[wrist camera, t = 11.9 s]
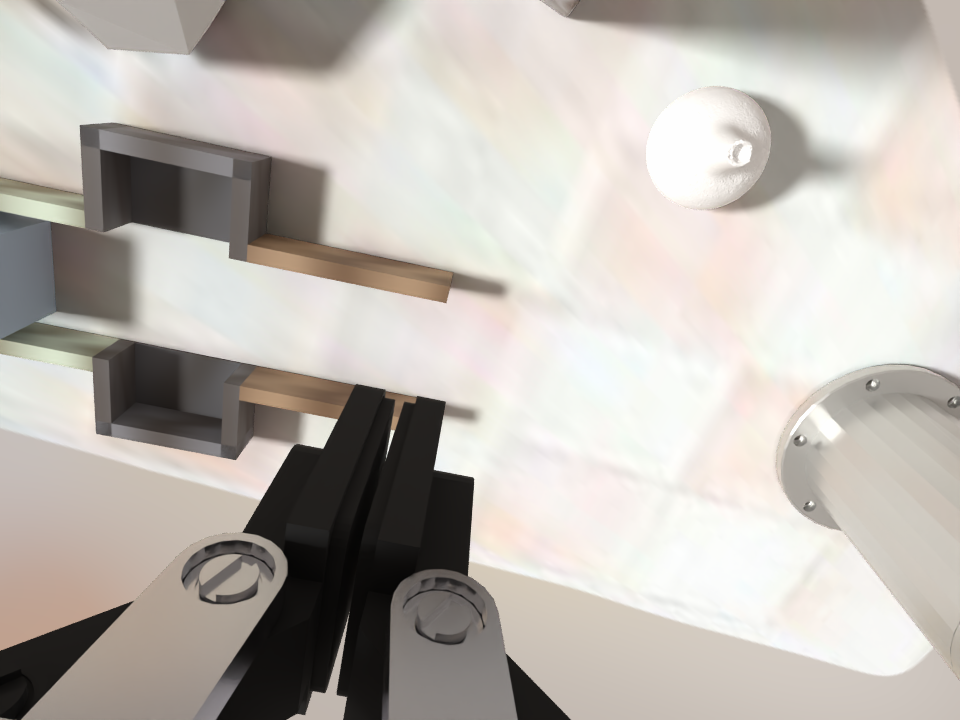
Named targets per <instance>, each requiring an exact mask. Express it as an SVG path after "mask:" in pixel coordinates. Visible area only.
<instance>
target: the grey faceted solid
mask: <svg viewBox="0 0 960 720" xmlns="http://www.w3.org/2000/svg"><path fill="white" fill-rule="evenodd" d="M56 1H57V2H58V3H59V4H60V5H61V6H63V7H64V8H65V9H66V10H67V11H68V12H69V13H70V14H71V15H72V16H73V17H74V18H75V19H76V20H77V21H79V22H80V23H81V24H82V25H83V26H84V27H85V28H86V29H87V30H88V31H89V32H90V33H91V34H92V35H93V36H95V37H96V38H97V39H98V40H99V41H100V42H101V43H102V44H103V45H104V46H105V47H106V48H107V49H113V50H128V51H142V52H156V53H170V54H184V55H190V53H191V52H192V50H193V49H194V48H195V46H196V45H197V43H198V42H199V41H200V39H201V38H202V37H203V35H204V34H205V32H206V31H207V30H208V28H209V27H210V25H211V24H212V22H213V21H214V19H215V17H216V16H217V14H218V12H219V11H220V9H221V7H222V6H223V4H224V2H225V1H226V0H56Z"/></svg>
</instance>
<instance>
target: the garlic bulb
mask: <svg viewBox="0 0 960 720" xmlns="http://www.w3.org/2000/svg"><path fill="white" fill-rule="evenodd" d="M770 149H771V131H770V126H769V122H768V120H767V117H766V115H765V113H764V111H763V110H762V108H761V107H760V106H759V104H758V103H757V102H756V101H755V100H753V99H752V98H751V97H750V96H748V95H747V94H745V93H743V92H741V91H739V90H736V89H733V88H729V87H722V86H710V87H704V88H699V89H696V90H693V91H691V92H689V93H686V94H684V95H683V96H681V97H679V98H678V99H676V100H675V101H674V102H672V103H671V104H670V105H669V106H668V107H666V109H665V110H664V111H663V112H662V113H661V114H660V116H659V117H658V118H657V120H656V122H655V123H654V125H653V128H652V130H651V132H650V135H649V138H648V143H647V149H646V158H647V167H648V171H649V174H650V176H651V179H652V181H653V183H654V184H655V186H656V187H657V189H658V190H659V191H660V193H662V195H664V197H666V198H667V199H668V200H670V201H671V202H673V203H675V204H677V205H679V206H681V207H684V208H688V209H693V210H710V209H715V208H719V207H722V206H725V205H727V204H729V203H731V202H733V201H735V200H737V199H738V198H740V197H741V196H742V195H744V194H745V193H746V192H747V191H748V190H749V189H750V188H751V187H752V186H753V185H754V184H755V183H756V182H757V180H758V179H759V177H760V176H761V174H762V172H763V171H764V169H765V166H766V164H767V162H768V158H769V154H770Z"/></svg>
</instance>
